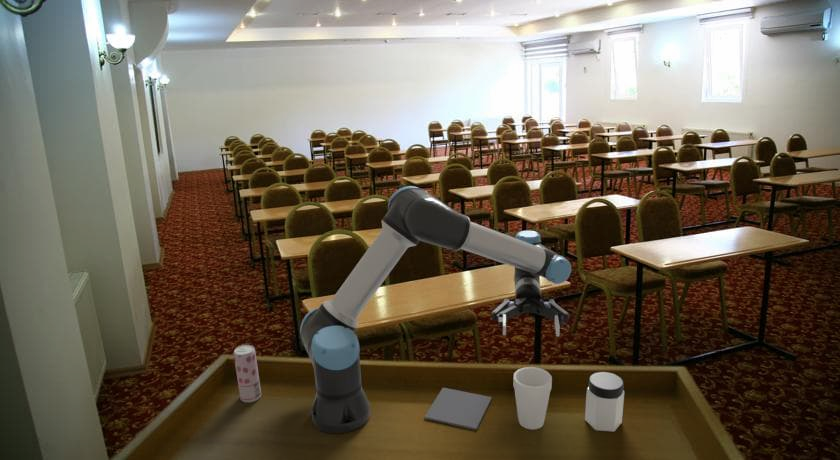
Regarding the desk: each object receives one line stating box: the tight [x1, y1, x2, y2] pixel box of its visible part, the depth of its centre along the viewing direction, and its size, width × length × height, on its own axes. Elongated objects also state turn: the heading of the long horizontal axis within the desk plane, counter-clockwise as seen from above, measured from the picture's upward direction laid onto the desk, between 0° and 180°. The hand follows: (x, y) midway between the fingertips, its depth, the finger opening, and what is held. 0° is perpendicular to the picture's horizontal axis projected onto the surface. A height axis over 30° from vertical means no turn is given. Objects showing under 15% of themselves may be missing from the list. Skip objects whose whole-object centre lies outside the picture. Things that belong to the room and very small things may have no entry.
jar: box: [584, 371, 625, 432], centre depth 152 cm, size 9×8×12 cm
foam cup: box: [512, 366, 553, 430], centre depth 153 cm, size 10×9×13 cm
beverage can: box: [233, 344, 262, 403], centre depth 167 cm, size 6×6×15 cm
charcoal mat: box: [423, 387, 493, 431], centre depth 161 cm, size 14×14×1 cm
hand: (531, 331), depth 157 cm, fingers open, 13 cm apart
